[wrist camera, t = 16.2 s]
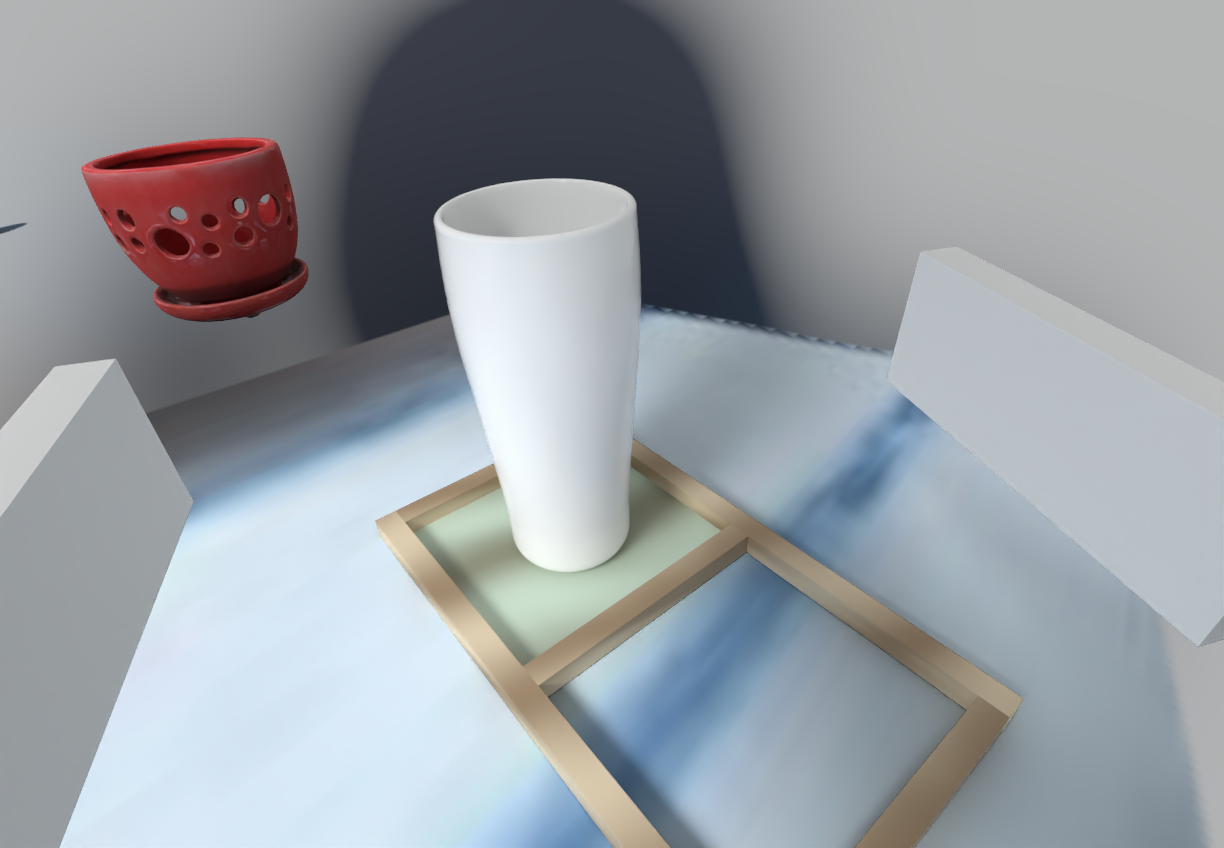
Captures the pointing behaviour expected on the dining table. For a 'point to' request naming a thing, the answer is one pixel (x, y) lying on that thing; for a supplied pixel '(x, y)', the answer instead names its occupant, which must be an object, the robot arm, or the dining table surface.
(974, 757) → the wooden window frame
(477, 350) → the drinking glass
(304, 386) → the dining table surface
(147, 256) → the plant pot
